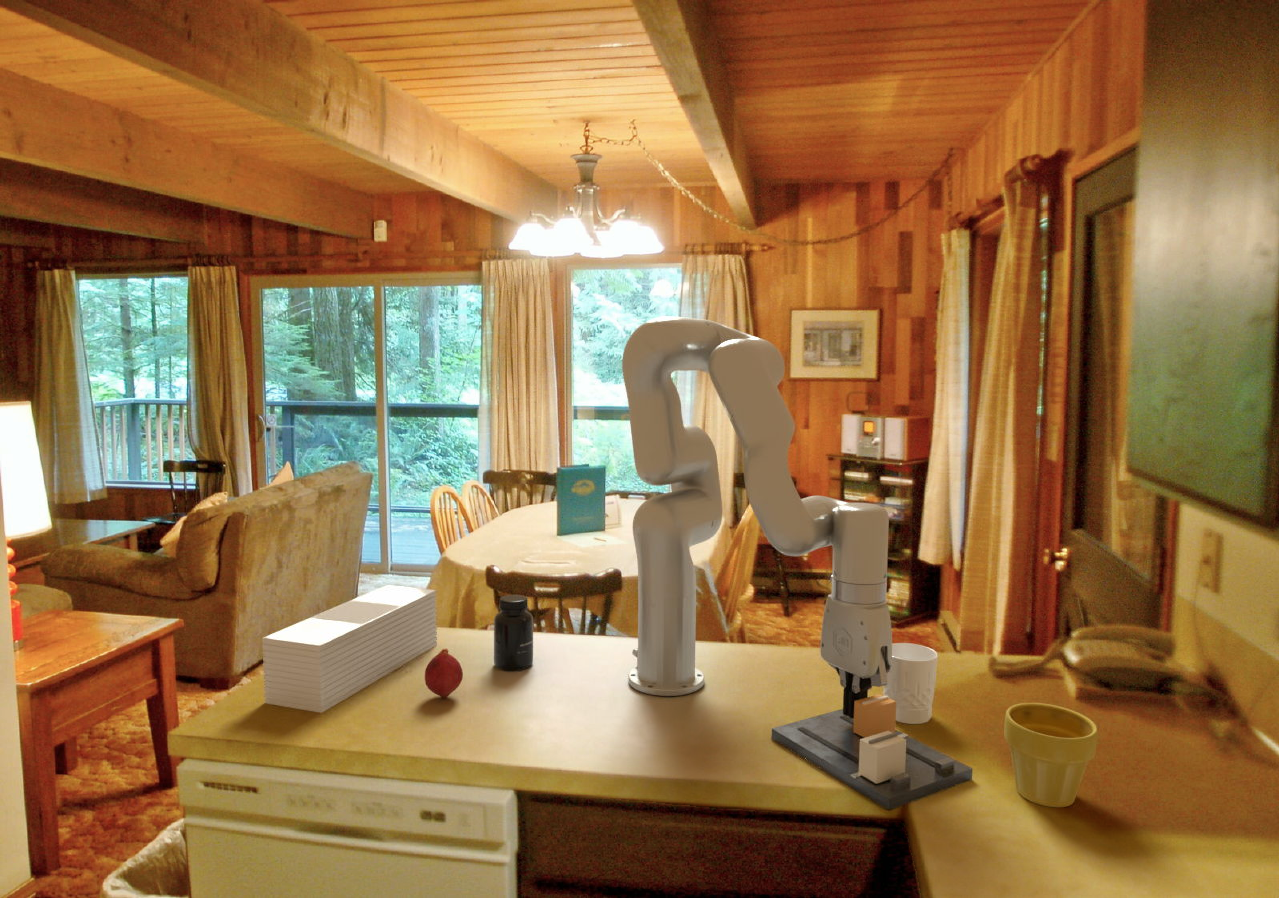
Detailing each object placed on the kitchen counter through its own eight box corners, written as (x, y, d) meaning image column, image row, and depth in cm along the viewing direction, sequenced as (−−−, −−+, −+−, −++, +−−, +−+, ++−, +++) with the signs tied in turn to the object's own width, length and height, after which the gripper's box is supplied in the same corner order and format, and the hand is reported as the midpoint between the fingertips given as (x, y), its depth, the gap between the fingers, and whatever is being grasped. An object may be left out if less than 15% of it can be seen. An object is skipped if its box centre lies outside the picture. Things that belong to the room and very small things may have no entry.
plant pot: (1112, 811, 102) (1118, 733, 100) (1036, 820, 99) (1041, 741, 98) (1053, 770, 112) (1058, 698, 111) (983, 777, 109) (987, 705, 108)
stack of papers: (321, 714, 128) (319, 645, 127) (265, 704, 132) (262, 637, 130) (437, 646, 158) (435, 589, 157) (388, 639, 162) (386, 584, 161)
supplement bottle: (530, 672, 145) (529, 603, 144) (490, 671, 145) (489, 603, 144) (535, 657, 152) (535, 592, 150) (497, 657, 152) (497, 592, 151)
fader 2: (858, 773, 107) (859, 736, 106) (887, 763, 109) (888, 728, 109) (876, 783, 104) (877, 746, 104) (904, 773, 107) (906, 737, 106)
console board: (771, 738, 120) (771, 720, 120) (849, 716, 128) (850, 699, 128) (888, 810, 101) (889, 788, 101) (971, 779, 109) (973, 759, 109)
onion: (436, 708, 130) (435, 657, 129) (418, 696, 134) (417, 647, 133) (469, 698, 134) (468, 649, 133) (451, 687, 138) (450, 639, 137)
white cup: (938, 728, 124) (941, 662, 123) (882, 723, 125) (885, 658, 124) (931, 707, 132) (933, 644, 130) (878, 702, 133) (880, 641, 132)
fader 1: (853, 731, 119) (854, 698, 118) (879, 724, 121) (880, 691, 121) (869, 740, 116) (870, 706, 116) (895, 732, 119) (896, 699, 118)
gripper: (803, 582, 125) (800, 701, 127) (879, 607, 112) (874, 740, 114) (840, 575, 128) (837, 691, 130) (918, 599, 116) (913, 728, 118)
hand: (854, 714), depth 122 cm, fingers closed
